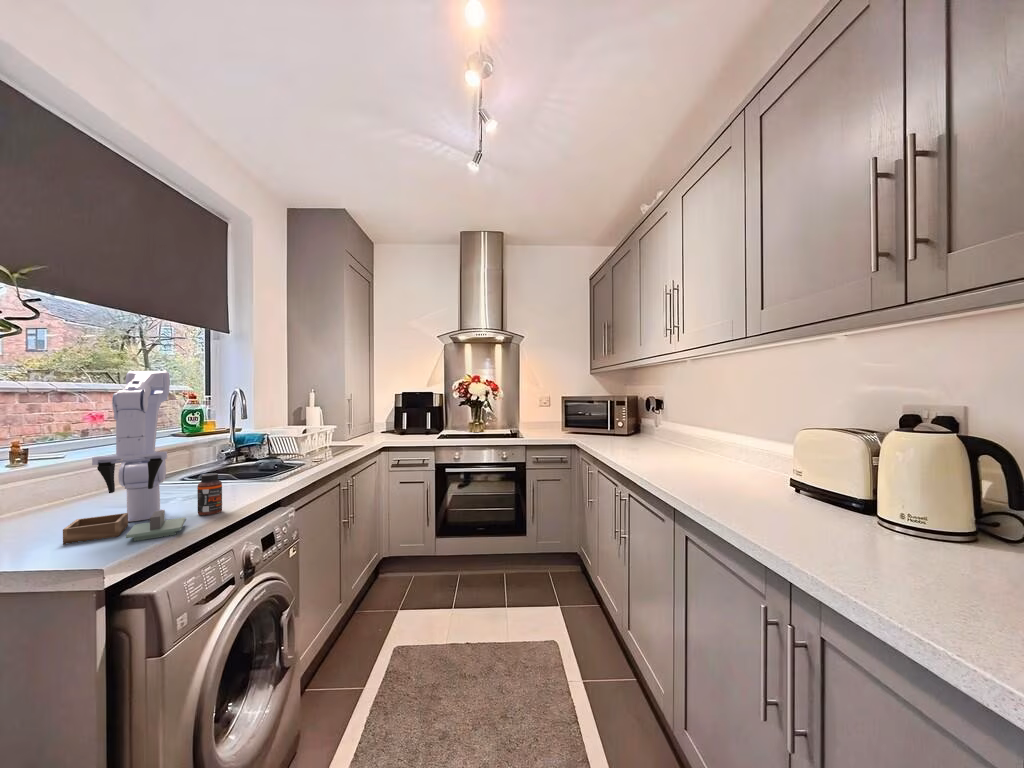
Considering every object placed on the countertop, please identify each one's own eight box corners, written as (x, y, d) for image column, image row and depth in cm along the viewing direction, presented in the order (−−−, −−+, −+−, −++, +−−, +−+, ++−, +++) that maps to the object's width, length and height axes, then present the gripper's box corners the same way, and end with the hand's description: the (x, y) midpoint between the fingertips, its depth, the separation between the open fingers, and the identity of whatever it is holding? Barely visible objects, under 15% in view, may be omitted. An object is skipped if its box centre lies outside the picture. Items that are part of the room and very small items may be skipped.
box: (77, 533, 114) (76, 519, 114) (128, 526, 119) (127, 512, 119) (62, 544, 105) (62, 529, 105) (118, 536, 110) (118, 522, 110)
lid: (135, 531, 113) (134, 512, 113) (185, 524, 119) (185, 506, 119) (125, 543, 105) (125, 522, 105) (180, 535, 110) (180, 515, 110)
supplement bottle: (209, 516, 126) (209, 476, 126) (192, 515, 127) (191, 476, 127) (227, 510, 132) (226, 472, 132) (210, 510, 133) (209, 472, 133)
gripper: (88, 440, 107) (88, 497, 107) (163, 435, 115) (164, 488, 114) (96, 438, 113) (97, 492, 113) (168, 434, 121) (168, 484, 120)
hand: (131, 490), depth 114 cm, fingers open, 7 cm apart
